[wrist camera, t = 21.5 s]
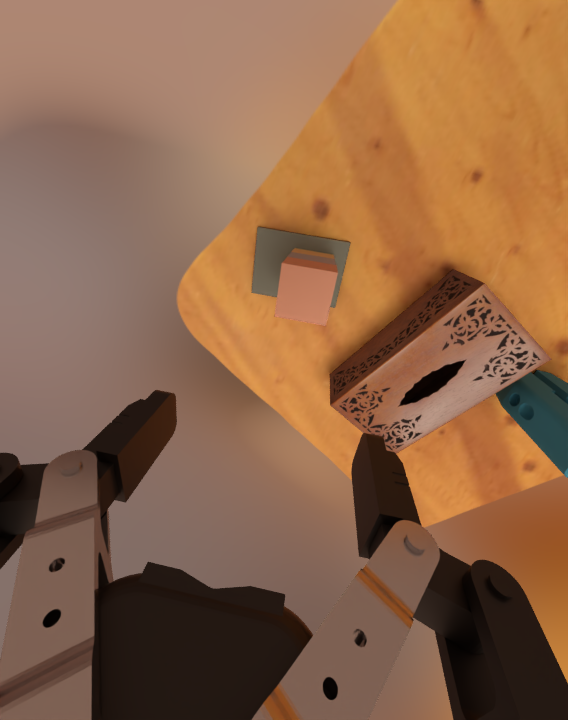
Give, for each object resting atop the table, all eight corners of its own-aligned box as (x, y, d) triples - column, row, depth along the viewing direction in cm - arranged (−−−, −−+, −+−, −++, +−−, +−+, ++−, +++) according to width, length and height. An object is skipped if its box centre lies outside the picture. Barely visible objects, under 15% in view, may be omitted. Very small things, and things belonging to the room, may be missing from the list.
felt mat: (259, 226, 44) (257, 227, 43) (349, 242, 43) (350, 242, 42) (252, 291, 49) (251, 292, 48) (334, 306, 48) (335, 307, 47)
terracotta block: (287, 256, 35) (281, 262, 30) (336, 265, 34) (337, 272, 30) (280, 304, 38) (274, 316, 33) (326, 312, 37) (325, 325, 33)
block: (479, 384, 51) (560, 476, 33) (494, 360, 48) (590, 444, 31) (547, 400, 50) (666, 501, 33) (565, 376, 48) (704, 471, 30)
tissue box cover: (381, 418, 57) (391, 456, 48) (329, 373, 54) (330, 405, 45) (508, 331, 46) (551, 359, 37) (452, 269, 43) (484, 283, 34)
